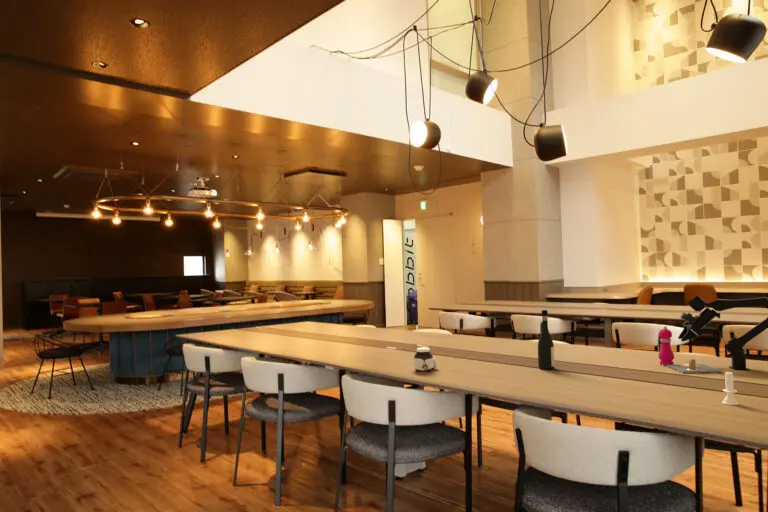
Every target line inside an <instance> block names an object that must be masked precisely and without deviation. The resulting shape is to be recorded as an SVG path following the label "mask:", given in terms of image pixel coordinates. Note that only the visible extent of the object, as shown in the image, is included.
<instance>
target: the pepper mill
mask: <svg viewBox="0 0 768 512" xmlns="http://www.w3.org/2000/svg"><path fill="white" fill-rule="evenodd" d="M662 328H663V329H661V330H659V332H658V336H659V337H660V339H659V340H660V342H661V343H660V344H661V345H660V350H659V352H658V358H659V365H660V364H663V365H674V361H673V360H674V359H675V354H674V351H673V350H672V347H671V342H672V337H673V334H672V333H673V332H672V331H671V330H670V329H668V327H667V326H666V325H665V326H663V327H662Z"/></svg>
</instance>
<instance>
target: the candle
mask: <svg viewBox="0 0 768 512" xmlns="http://www.w3.org/2000/svg"><path fill="white" fill-rule="evenodd" d="M724 380H725V381H724V382H725V386H724V387H725V388H724V389H722V391H723V392H724V393H726V396H724V398H723V400H722V401H721V403H722V404H724V405H728V406H737V405H739V402H738V401H737V399H736V398H735V396H734V394H735V393H737V392H738V391H737V390H736V389H735V388H734V380H735V378H734V374H733V372H732V371H726V372H724Z"/></svg>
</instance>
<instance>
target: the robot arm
mask: <svg viewBox="0 0 768 512" xmlns="http://www.w3.org/2000/svg"><path fill="white" fill-rule="evenodd" d="M687 306H688V307H690V308H691V309H692V310H693V311H695V312H696V313H697V312H699V314H698V315H695V316H693V314H692V313H690V312H688V313H686V312H682V313H681V316H680V317H679V318H680V319H681V320H685V321H684V322H683V324H682V327H683V329H682V331H681V333H680V334H679V335H678V337H677V339H679V340H680V341H681V342H682V343H684V342H686V341H689V340H693V339H696V338H698V337H701V336H702V335H704V333H703V330H702V329H703V328H704V327H706V326H708V325H709V323H711V321H713V319H715V318H717V319H718V320H719V319H721V314H722V313H721V312H722V311H726V310H731V309H734V308H748V307H757V306H759V307H760V306H763V307H764V308H766V309H767V310H768V297H766V296H762V297H752V298H741V299H726V298H724V299H723V298H717V299H715V300H713V301H708V302H707V301H705V300H704V299H702V297H701V296H700V295H698V294H697V295H696V296H695V297H693V298H692V299H690V301H689V302H687ZM710 308H711V309H710ZM767 329H768V316H767V317H766V318H764V319H763V320H762V321H760V323H757V324H756V325H755V326H753V327H752V328H751V329H749V330H748V331H747V332H745V333H743V334H742V335H740V336H738V337H737V335H734V336H733V338H731V339H727V340H728V341H727V343H726V345H725V349H726V351H727V352H728V353H730V356H731V366H728V368H729V369H732V370H737V371H739V370H740V371H743V370H744V371H745V370H746V371H747V370H748V371H749V370H750V368H749V367H747V358H746V353H747V350H745V349H744V347H745V345H746V344H747V343H748V342H750V341H752V340H753V339H754V338H755V337H757V336H759V335H760V334H761V333H763V332H765V331H766V330H767Z"/></svg>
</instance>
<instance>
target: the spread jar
mask: <svg viewBox="0 0 768 512" xmlns="http://www.w3.org/2000/svg"><path fill="white" fill-rule="evenodd" d="M430 350H431V349H430V347H427V346H426V347H422V346H421V347H417V348H416V353H414V356H413V367H414V369H415V370H416V371H417V370H418V371H429V372H431V371H432V370H433V369H432V368H435V369H437V367H438V366H439V362H438V360H437V358H436V357H435V356H434V355H433V354H432V352H431V351H430ZM430 370H431V371H430ZM418 371H417V372H418Z"/></svg>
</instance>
